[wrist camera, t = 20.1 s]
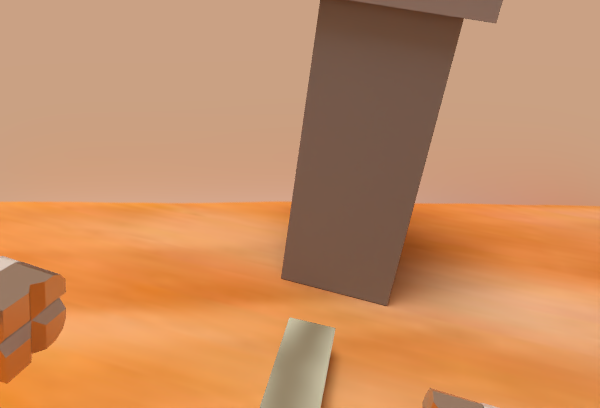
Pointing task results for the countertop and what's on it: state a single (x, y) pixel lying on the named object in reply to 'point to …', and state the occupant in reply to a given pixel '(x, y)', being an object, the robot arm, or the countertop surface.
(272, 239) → the countertop surface
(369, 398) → the countertop surface
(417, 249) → the countertop surface
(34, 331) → the robot arm
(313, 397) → the beige block
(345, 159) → the tall stand
